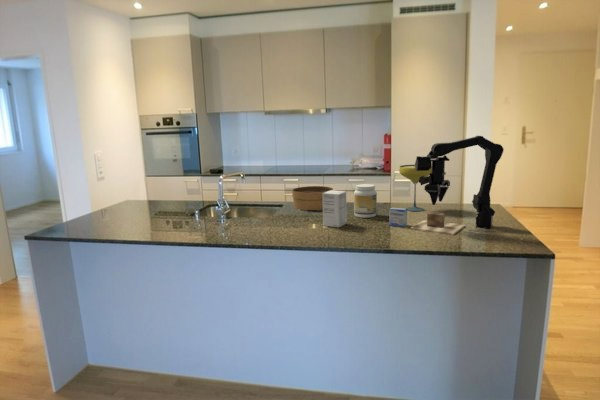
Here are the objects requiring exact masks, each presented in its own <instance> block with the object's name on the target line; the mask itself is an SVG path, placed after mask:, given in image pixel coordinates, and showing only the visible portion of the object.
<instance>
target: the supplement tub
mask: <svg viewBox="0 0 600 400" xmlns="http://www.w3.org/2000/svg"><path fill="white" fill-rule="evenodd" d="M377 193H378V192H377V190H376V184H372V183H362V184H356V185H355V190H354V192H353V213H354V217H356V218H362V219H364V218H365V219H366V218H374V217H376V216H377V207H378V206H377Z"/></svg>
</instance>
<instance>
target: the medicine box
mask: <svg viewBox="0 0 600 400" xmlns="http://www.w3.org/2000/svg"><path fill="white" fill-rule="evenodd" d="M406 208H407V207H404V208H402V207H391V208H389V216H388V217H389V219H388V225H389V227H398V228H405V227H407V226H408V211H407V209H406Z"/></svg>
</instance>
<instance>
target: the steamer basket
mask: <svg viewBox="0 0 600 400" xmlns="http://www.w3.org/2000/svg"><path fill="white" fill-rule="evenodd" d="M330 190H334V188H332V187H330V186H324V185H323V186H322V185H321V186H320V185H319V186H318V185H312V186H311V185H310V186H309V185H307V186H301V187H300V186H299V187H295V188H293V189H292V190H291V193H292V200H293V201H292V202H293V203H292V204H293V209H295V208H296V209H295V210H298V209H300V210H299V211H305V210H317V211H323V200H322V193H325V192H327V191H330Z"/></svg>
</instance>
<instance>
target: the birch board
mask: <svg viewBox="0 0 600 400" xmlns="http://www.w3.org/2000/svg"><path fill="white" fill-rule="evenodd" d="M465 226H466V224H460V223H453V222H451V223H450V222H446V221H444V226H443V227H442V228H440V227H432V226H427V219H424V220H422V221H420V222H418V223H416V224H415V225H413V226H411V227H410V230H412V231H419V232H421V231H422V232H427V233H435V234H444V235H450V236H454V235H455V234H456V233H458V232H460V231H461V230H462V229H464V227H465Z"/></svg>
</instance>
